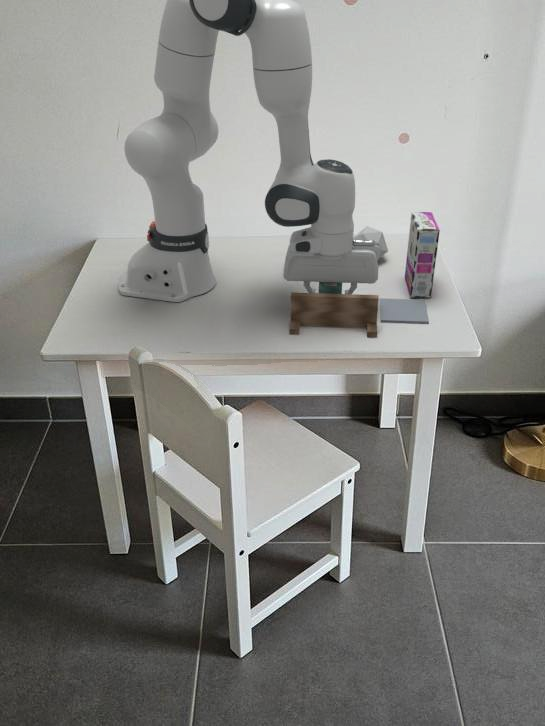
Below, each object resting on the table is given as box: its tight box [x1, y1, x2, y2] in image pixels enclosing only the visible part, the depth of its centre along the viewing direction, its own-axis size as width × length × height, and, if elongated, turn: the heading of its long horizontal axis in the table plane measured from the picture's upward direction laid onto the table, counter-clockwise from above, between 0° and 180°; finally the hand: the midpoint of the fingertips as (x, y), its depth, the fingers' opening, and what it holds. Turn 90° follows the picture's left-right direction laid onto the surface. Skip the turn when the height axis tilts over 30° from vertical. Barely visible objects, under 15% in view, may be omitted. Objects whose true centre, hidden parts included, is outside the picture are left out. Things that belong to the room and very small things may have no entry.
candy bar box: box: [404, 211, 441, 299], centre depth 164 cm, size 11×5×16 cm, turn 178°
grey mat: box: [379, 297, 430, 325], centre depth 159 cm, size 10×10×1 cm
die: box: [353, 226, 389, 258], centre depth 180 cm, size 8×9×10 cm
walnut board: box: [288, 291, 380, 338], centre depth 151 cm, size 18×5×7 cm, turn 85°
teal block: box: [317, 282, 343, 294], centre depth 160 cm, size 5×5×6 cm
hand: (329, 298), depth 160 cm, fingers open, 6 cm apart
